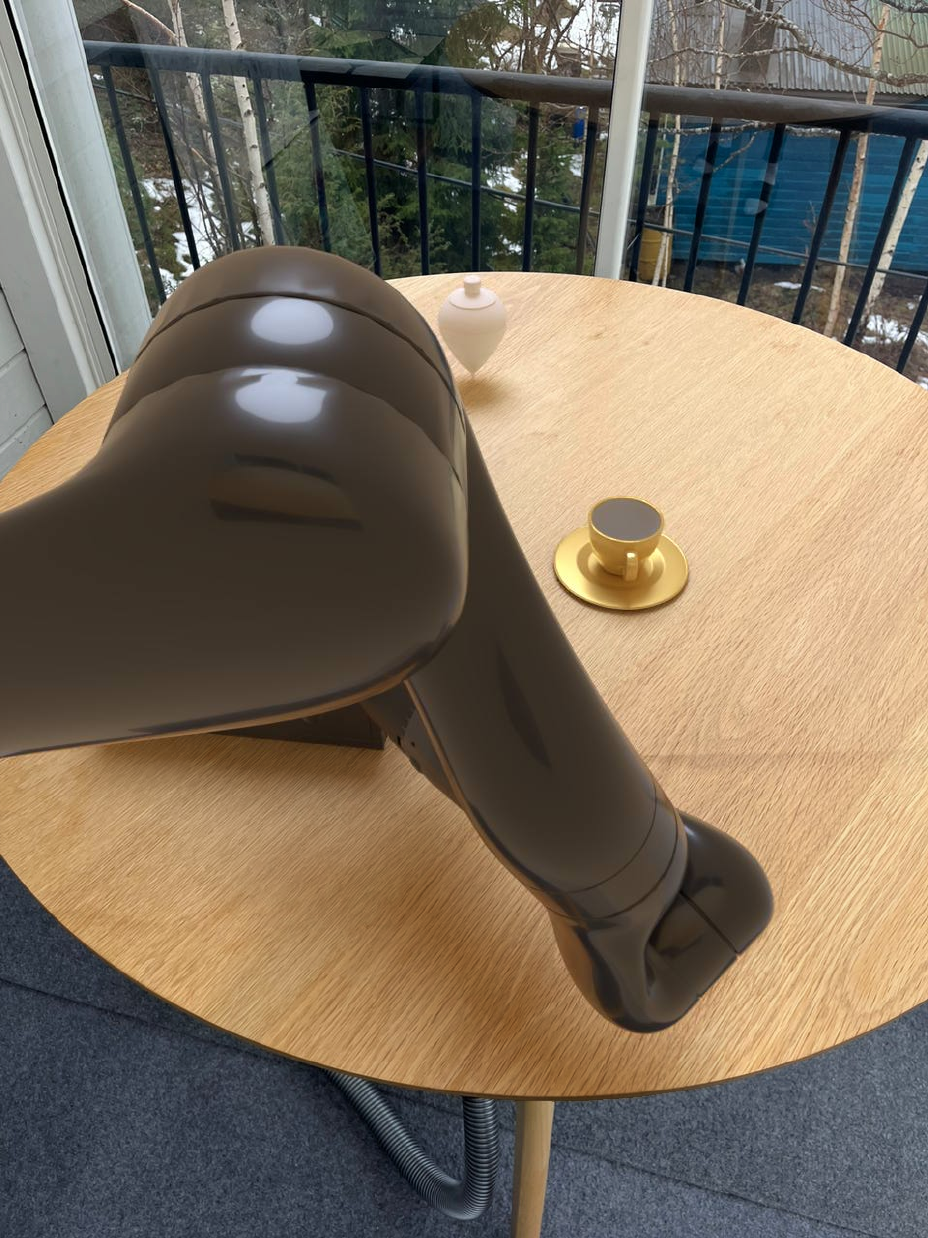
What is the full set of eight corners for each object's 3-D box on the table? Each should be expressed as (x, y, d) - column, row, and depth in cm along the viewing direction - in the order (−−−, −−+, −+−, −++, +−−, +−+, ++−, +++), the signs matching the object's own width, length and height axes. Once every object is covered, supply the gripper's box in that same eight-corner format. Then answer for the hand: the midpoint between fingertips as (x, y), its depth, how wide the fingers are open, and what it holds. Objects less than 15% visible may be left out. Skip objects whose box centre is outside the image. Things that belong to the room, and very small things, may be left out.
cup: (547, 526, 88) (550, 478, 85) (674, 523, 88) (683, 476, 85) (558, 614, 80) (562, 566, 76) (699, 611, 80) (710, 563, 76)
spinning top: (443, 361, 111) (440, 261, 102) (507, 363, 110) (510, 263, 102) (436, 395, 105) (432, 293, 97) (504, 398, 105) (506, 295, 96)
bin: (105, 723, 72) (78, 661, 67) (198, 544, 87) (181, 482, 82) (383, 750, 70) (376, 687, 65) (428, 561, 85) (425, 499, 80)
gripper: (552, 619, 56) (395, 491, 65) (350, 736, 49) (208, 576, 59) (546, 702, 61) (402, 572, 70) (362, 818, 55) (230, 659, 64)
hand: (314, 574), depth 64 cm, fingers open, 8 cm apart
